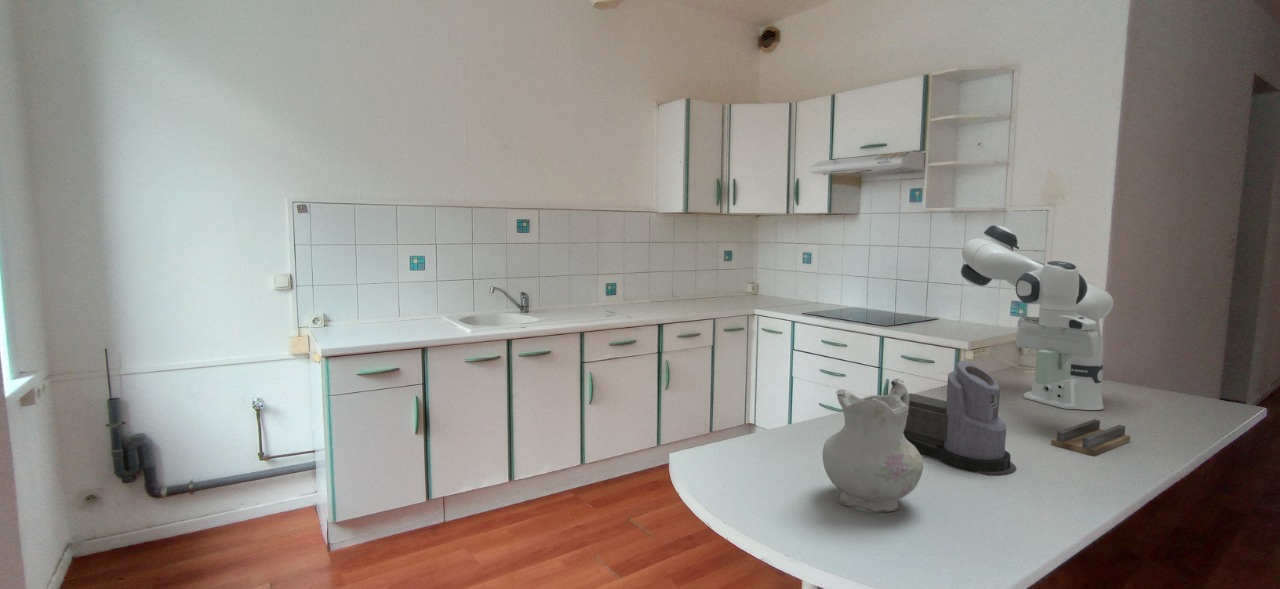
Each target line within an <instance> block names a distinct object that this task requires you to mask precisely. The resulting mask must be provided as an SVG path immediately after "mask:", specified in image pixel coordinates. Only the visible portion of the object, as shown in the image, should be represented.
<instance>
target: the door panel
mask: <svg viewBox="0 0 1280 589" xmlns="http://www.w3.org/2000/svg"><path fill="white" fill-rule="evenodd" d="M1064 360H1065V358H1063V354H1061V353H1058V351H1055V350H1048V349H1044V350H1039V351H1038V350H1036V360H1035V376H1034V382H1035V383H1039V384H1044V385H1048V384H1052V383H1056V382H1060V381H1064V380H1068V379H1070V372H1071V360H1070V361H1069V362H1068V363H1067V369H1066V370H1061V369H1058V367H1059V366H1058V363H1062V362H1063V361H1064Z"/></svg>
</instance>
